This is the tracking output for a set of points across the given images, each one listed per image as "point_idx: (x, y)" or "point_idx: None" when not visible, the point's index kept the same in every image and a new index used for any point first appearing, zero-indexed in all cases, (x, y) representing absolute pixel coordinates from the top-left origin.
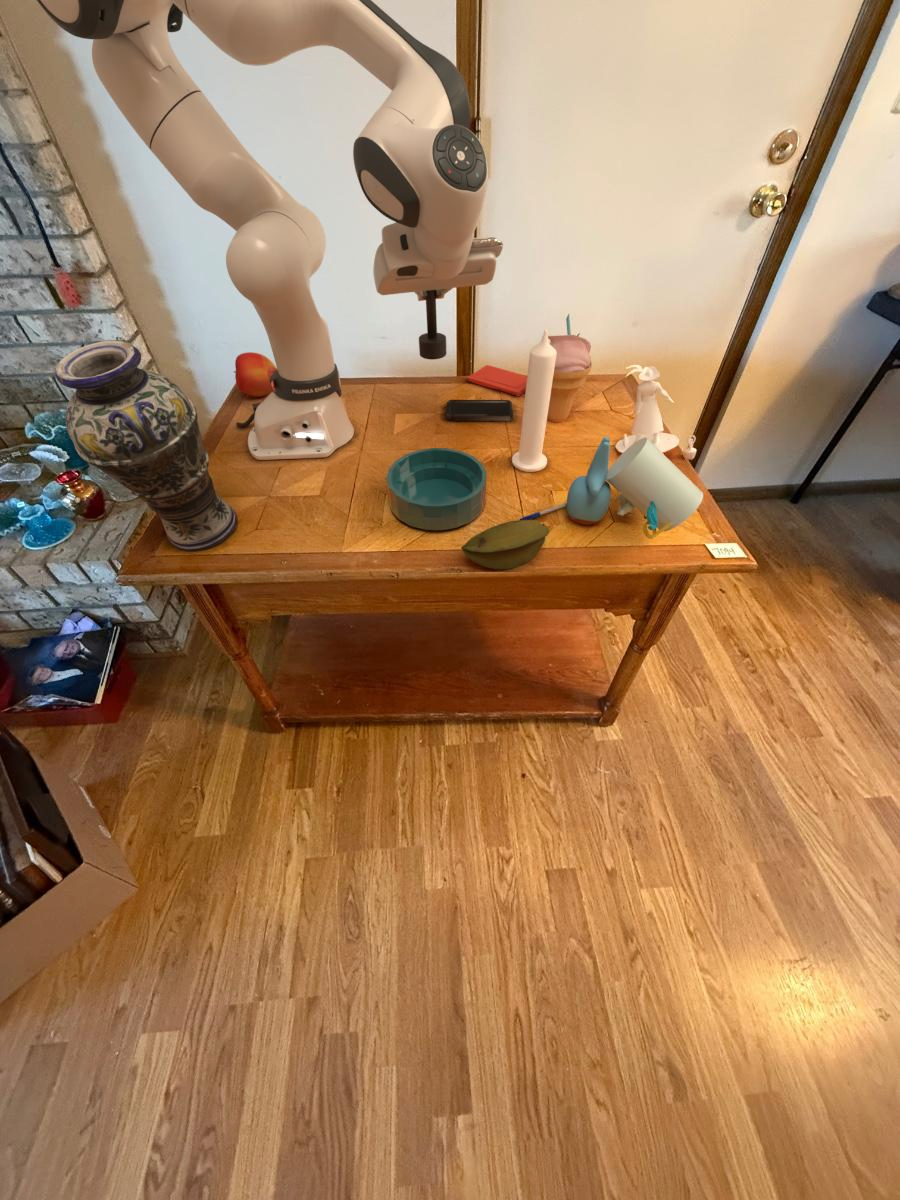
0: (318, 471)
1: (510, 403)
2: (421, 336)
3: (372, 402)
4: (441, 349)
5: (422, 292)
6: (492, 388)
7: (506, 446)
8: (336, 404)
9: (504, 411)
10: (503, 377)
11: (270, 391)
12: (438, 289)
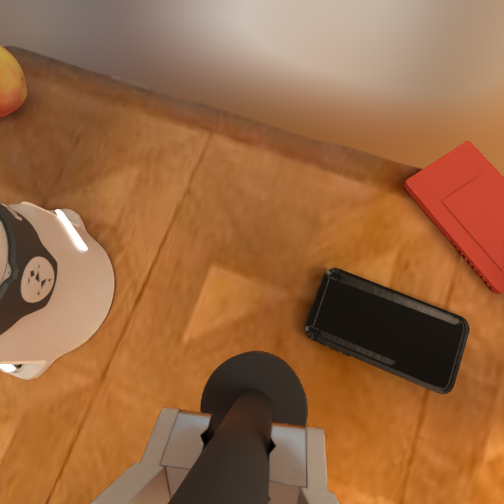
0: (4, 422)
1: (464, 333)
2: (218, 378)
3: (183, 202)
4: None
5: (170, 491)
6: (447, 238)
7: (393, 494)
8: (32, 326)
9: (438, 364)
10: (487, 211)
11: (9, 113)
12: (283, 501)
